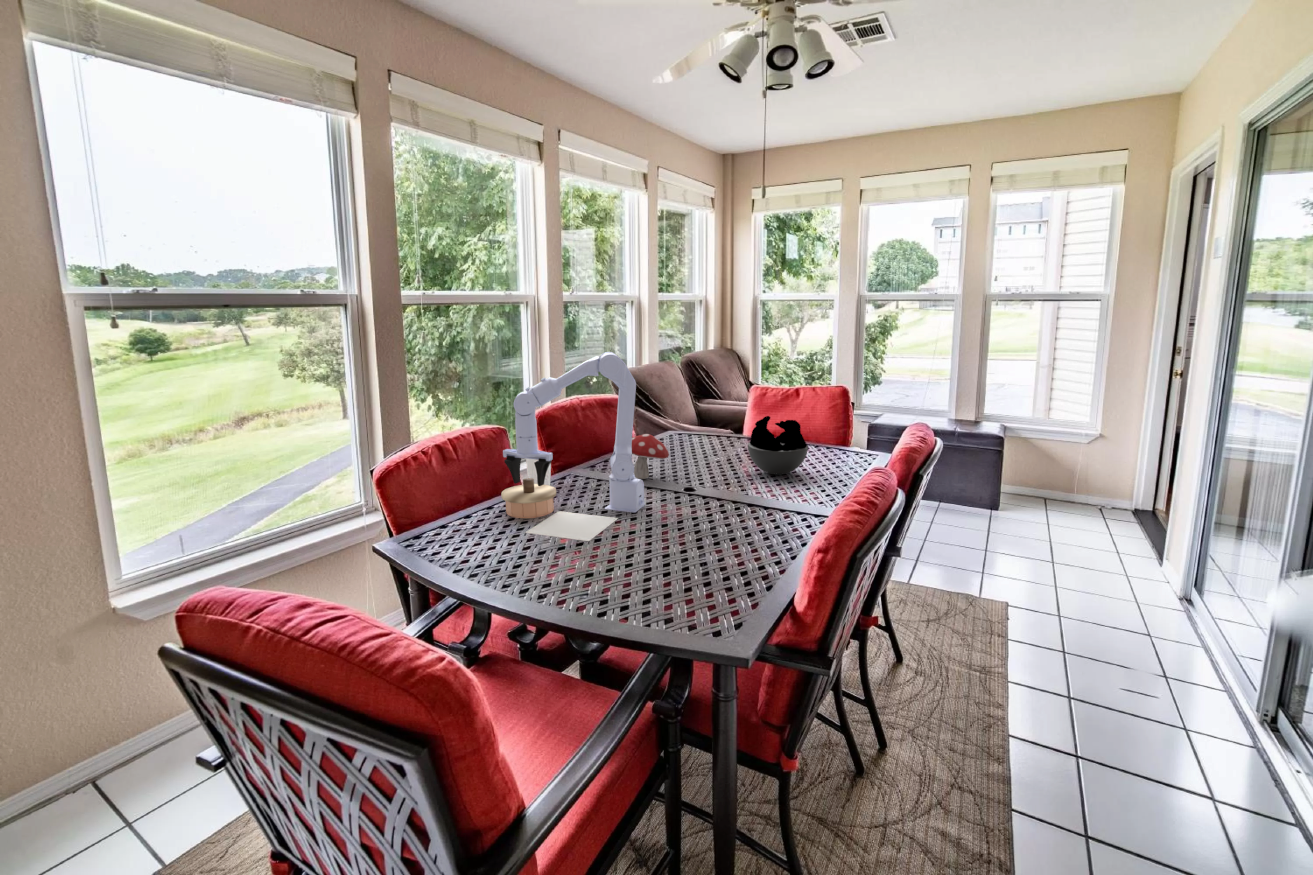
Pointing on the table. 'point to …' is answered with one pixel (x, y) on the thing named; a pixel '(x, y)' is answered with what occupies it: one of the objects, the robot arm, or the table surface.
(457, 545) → the table surface
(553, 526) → the white square mat
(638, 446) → the decorative mushroom
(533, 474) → the white cup
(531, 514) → the terracotta bowl
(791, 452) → the coal bowl
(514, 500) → the oak lid
